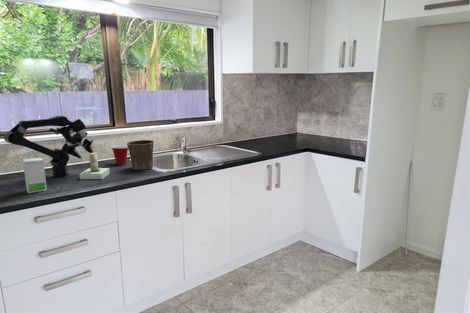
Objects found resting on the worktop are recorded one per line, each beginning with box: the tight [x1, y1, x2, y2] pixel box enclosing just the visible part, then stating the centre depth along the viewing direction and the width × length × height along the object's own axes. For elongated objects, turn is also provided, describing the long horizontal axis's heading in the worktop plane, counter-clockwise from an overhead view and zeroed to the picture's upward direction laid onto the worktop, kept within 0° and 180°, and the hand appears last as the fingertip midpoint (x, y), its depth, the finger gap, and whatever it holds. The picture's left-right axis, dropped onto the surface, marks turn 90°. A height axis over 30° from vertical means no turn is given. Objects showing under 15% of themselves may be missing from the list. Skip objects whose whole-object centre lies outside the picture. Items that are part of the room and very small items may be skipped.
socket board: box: [79, 167, 111, 180], centre depth 184 cm, size 12×12×3 cm
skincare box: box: [22, 157, 48, 194], centre depth 159 cm, size 8×7×16 cm
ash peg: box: [88, 152, 99, 172], centre depth 183 cm, size 4×4×13 cm
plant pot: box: [126, 139, 155, 171], centre depth 200 cm, size 16×16×16 cm
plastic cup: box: [111, 144, 129, 166], centre depth 210 cm, size 11×11×12 cm
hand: (87, 156), depth 183 cm, fingers open, 9 cm apart
